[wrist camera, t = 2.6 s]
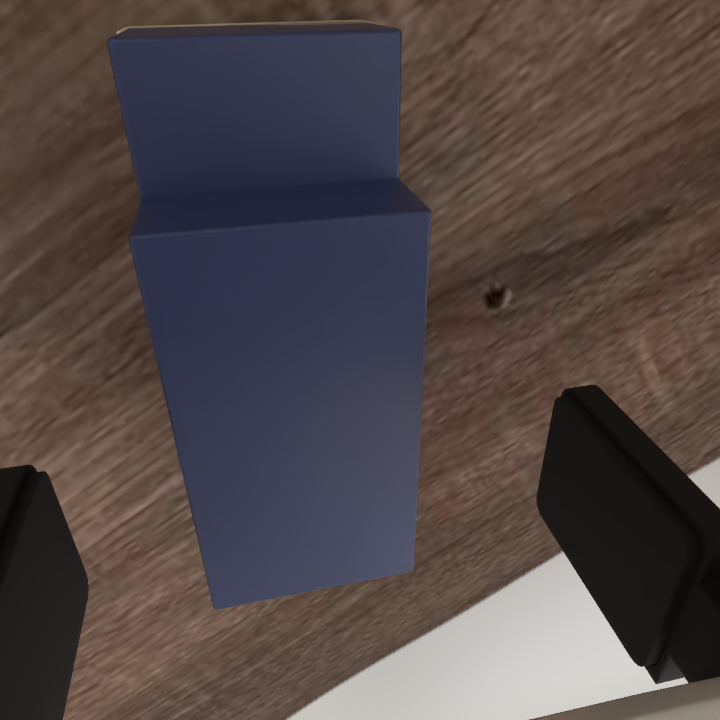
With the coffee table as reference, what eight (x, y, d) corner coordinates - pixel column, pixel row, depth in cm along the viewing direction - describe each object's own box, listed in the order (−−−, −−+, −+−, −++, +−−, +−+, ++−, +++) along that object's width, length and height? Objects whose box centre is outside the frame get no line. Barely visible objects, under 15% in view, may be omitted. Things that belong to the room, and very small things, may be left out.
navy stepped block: (210, 466, 19) (212, 625, 14) (124, 26, 12) (75, 49, 8) (367, 442, 20) (417, 584, 15) (362, 19, 13) (447, 37, 9)
